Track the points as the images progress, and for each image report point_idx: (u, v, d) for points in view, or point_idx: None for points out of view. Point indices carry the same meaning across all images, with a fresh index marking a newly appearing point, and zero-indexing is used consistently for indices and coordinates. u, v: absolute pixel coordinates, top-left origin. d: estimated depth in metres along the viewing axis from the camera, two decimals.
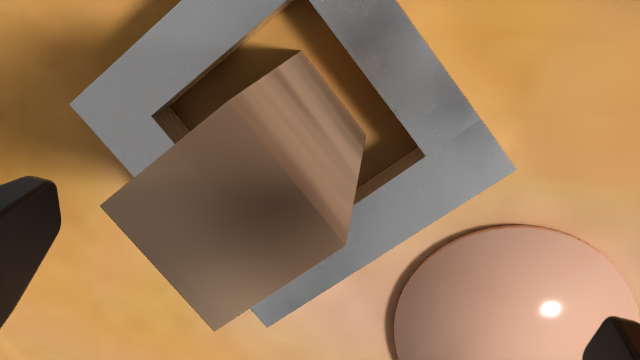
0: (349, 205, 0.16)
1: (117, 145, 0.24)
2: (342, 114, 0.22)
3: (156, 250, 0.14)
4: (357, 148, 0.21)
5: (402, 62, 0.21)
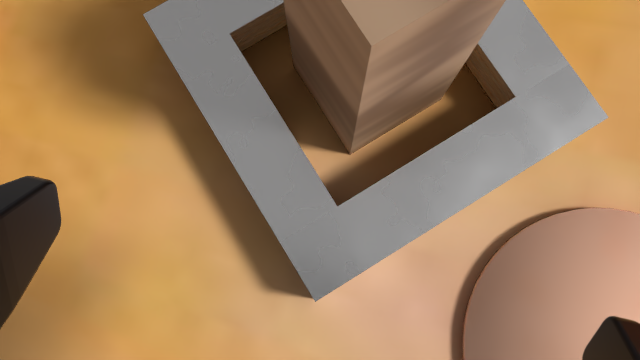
0: None
1: (181, 63, 0.22)
2: None
3: None
4: None
5: None
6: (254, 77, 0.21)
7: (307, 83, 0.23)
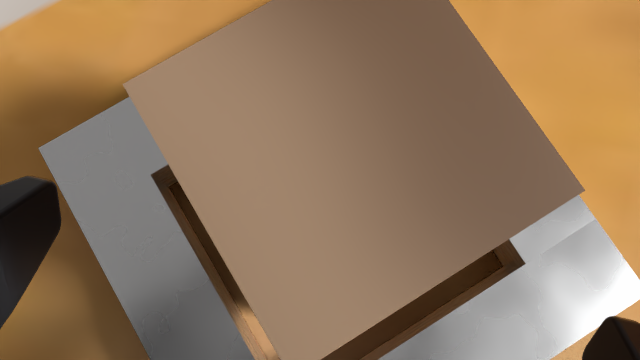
0: None
1: (87, 213, 0.16)
2: None
3: (209, 179, 0.07)
4: None
5: None
6: (181, 235, 0.16)
7: None
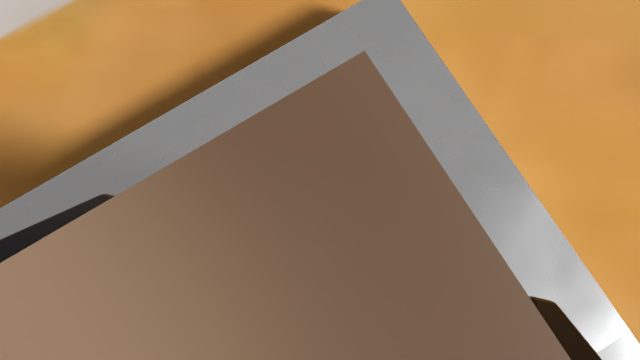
0: None
1: None
2: None
3: None
4: None
5: (504, 228, 0.14)
6: None
7: None
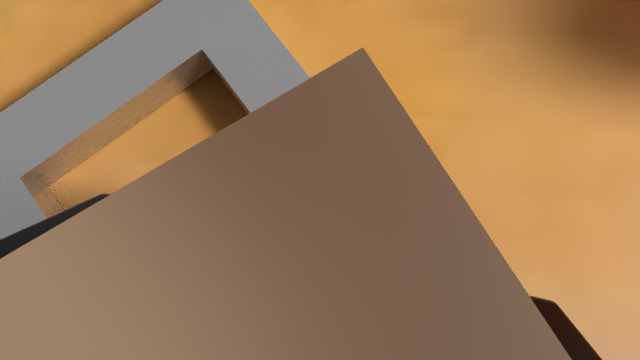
0: None
1: None
2: None
3: None
4: None
5: None
6: None
7: None
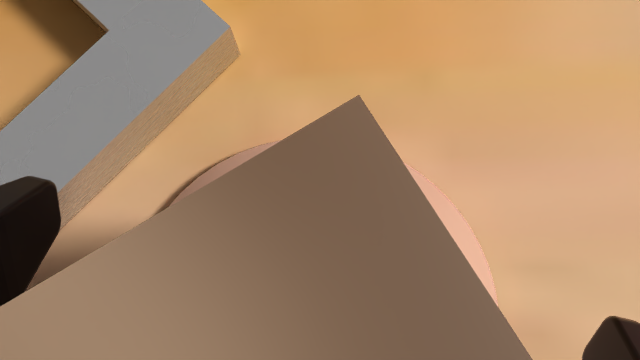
0: None
1: None
2: None
3: None
4: None
5: None
6: None
7: None
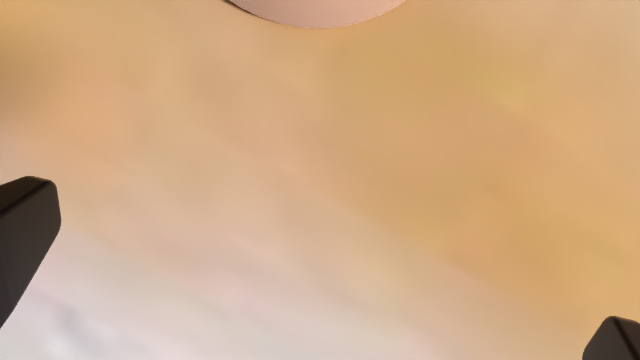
0: None
1: None
2: None
3: None
4: None
5: None
6: None
7: None
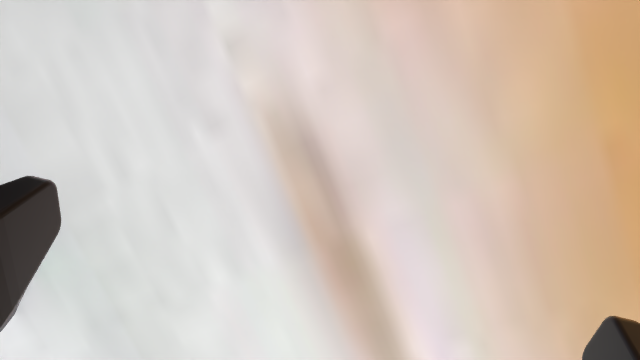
0: None
1: None
2: None
3: None
4: None
5: None
6: None
7: None
